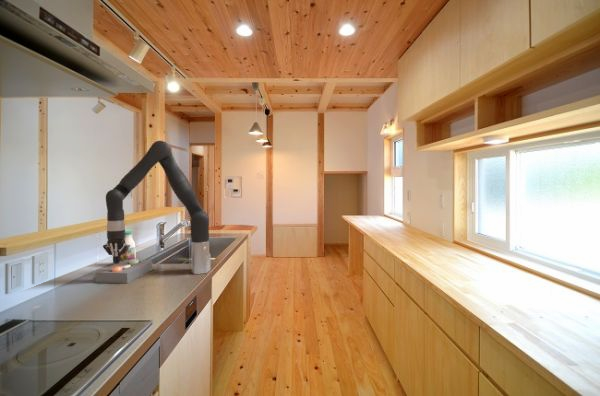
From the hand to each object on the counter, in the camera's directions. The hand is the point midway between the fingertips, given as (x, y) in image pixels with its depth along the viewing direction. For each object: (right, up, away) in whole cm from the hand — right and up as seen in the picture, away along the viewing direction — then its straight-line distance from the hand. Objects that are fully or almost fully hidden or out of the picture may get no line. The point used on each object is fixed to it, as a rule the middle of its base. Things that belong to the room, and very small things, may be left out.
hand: (116, 263), depth 135 cm
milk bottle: (-10, -7, +25) cm, 28 cm away
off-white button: (0, -7, +7) cm, 10 cm away
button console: (0, -8, +7) cm, 11 cm away
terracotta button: (0, -6, 0) cm, 6 cm away
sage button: (+1, -5, +13) cm, 14 cm away
